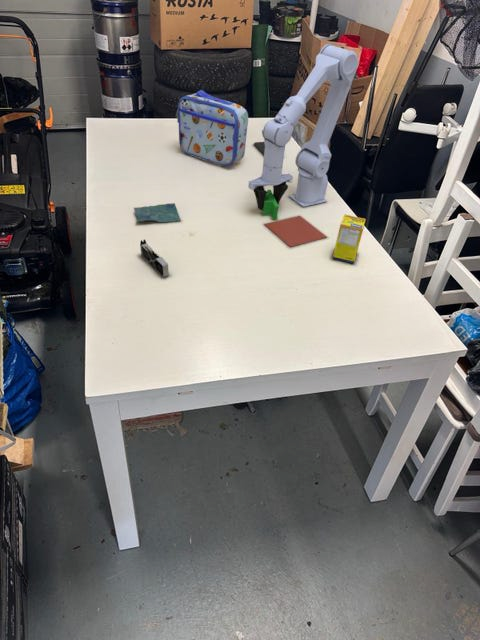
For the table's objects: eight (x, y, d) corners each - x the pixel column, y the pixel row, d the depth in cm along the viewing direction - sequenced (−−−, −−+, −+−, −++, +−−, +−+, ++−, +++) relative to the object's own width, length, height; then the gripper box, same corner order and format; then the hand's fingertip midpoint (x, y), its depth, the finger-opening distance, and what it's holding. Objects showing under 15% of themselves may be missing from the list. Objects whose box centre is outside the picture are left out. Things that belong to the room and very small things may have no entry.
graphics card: (141, 256, 121) (135, 242, 117) (149, 252, 122) (143, 237, 118) (163, 279, 114) (158, 264, 110) (172, 273, 115) (167, 259, 111)
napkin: (299, 216, 143) (299, 215, 143) (326, 237, 134) (326, 236, 134) (264, 224, 137) (264, 223, 137) (290, 247, 129) (290, 246, 129)
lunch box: (171, 152, 174) (170, 89, 159) (188, 144, 181) (188, 83, 166) (232, 172, 164) (236, 107, 149) (247, 163, 171) (253, 100, 156)
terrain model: (175, 208, 141) (175, 202, 139) (180, 221, 135) (180, 216, 134) (132, 212, 137) (132, 206, 136) (136, 226, 132) (136, 220, 131)
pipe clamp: (257, 203, 148) (259, 189, 145) (269, 202, 148) (270, 189, 145) (264, 220, 139) (266, 206, 136) (276, 219, 140) (278, 206, 137)
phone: (270, 141, 187) (284, 155, 177) (269, 143, 188) (284, 157, 177) (253, 142, 185) (266, 156, 174) (252, 144, 185) (266, 158, 175)
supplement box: (356, 253, 129) (366, 218, 122) (353, 264, 125) (363, 228, 117) (335, 248, 130) (344, 213, 123) (332, 259, 126) (340, 223, 119)
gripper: (285, 155, 140) (279, 197, 149) (244, 162, 134) (241, 205, 143) (299, 164, 135) (292, 206, 144) (257, 172, 129) (252, 215, 138)
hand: (267, 206), depth 143 cm, fingers closed on pipe clamp, 5 cm apart
